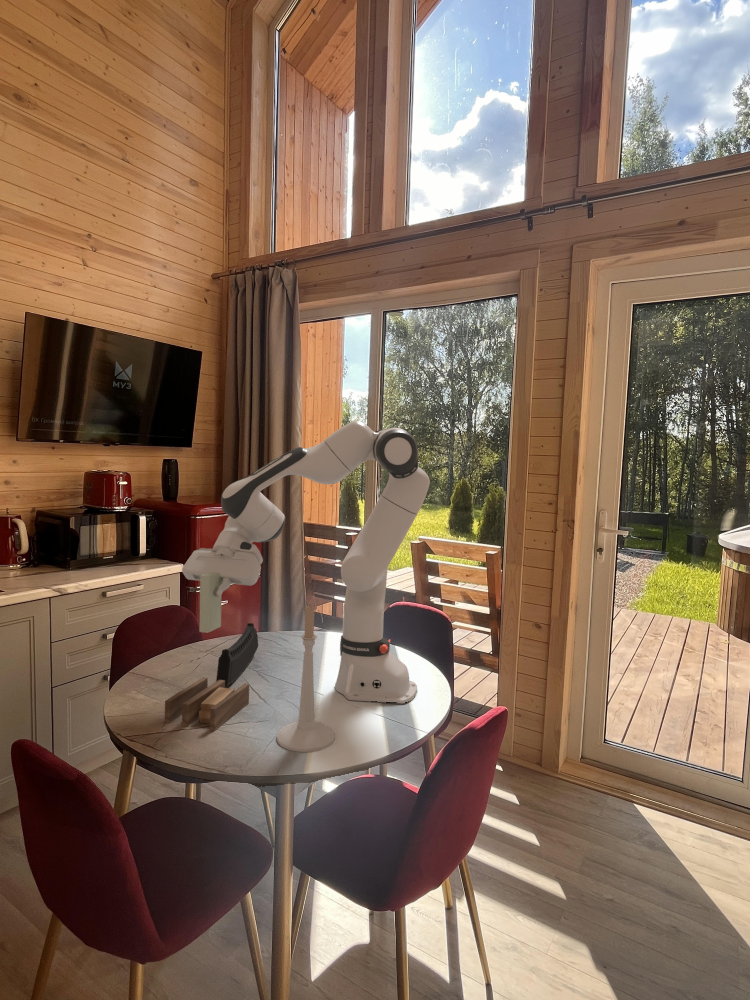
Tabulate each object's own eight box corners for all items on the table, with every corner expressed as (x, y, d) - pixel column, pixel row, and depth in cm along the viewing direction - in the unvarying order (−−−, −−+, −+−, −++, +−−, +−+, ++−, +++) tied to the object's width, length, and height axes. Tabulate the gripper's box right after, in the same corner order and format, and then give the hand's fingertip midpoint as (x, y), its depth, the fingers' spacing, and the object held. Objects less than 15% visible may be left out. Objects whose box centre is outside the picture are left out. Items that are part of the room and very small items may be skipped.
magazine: (225, 661, 148) (256, 602, 177) (213, 660, 149) (245, 602, 177) (229, 715, 154) (259, 649, 182) (218, 714, 155) (248, 649, 183)
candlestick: (273, 727, 132) (277, 598, 130) (328, 722, 135) (332, 597, 134) (280, 754, 120) (284, 612, 118) (340, 748, 123) (345, 610, 121)
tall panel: (220, 626, 147) (221, 572, 146) (208, 632, 141) (209, 576, 140) (212, 625, 147) (213, 571, 146) (199, 631, 142) (200, 575, 141)
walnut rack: (248, 703, 144) (249, 684, 144) (214, 730, 129) (215, 709, 129) (203, 696, 148) (203, 677, 148) (164, 722, 132) (165, 701, 132)
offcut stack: (234, 706, 143) (234, 688, 143) (215, 725, 132) (215, 706, 132) (218, 704, 143) (219, 687, 143) (198, 724, 133) (199, 705, 132)
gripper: (191, 540, 152) (168, 583, 143) (261, 545, 147) (241, 591, 138) (200, 554, 157) (178, 597, 148) (268, 560, 151) (250, 605, 143)
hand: (209, 594), depth 143 cm, fingers closed on tall panel, 2 cm apart
